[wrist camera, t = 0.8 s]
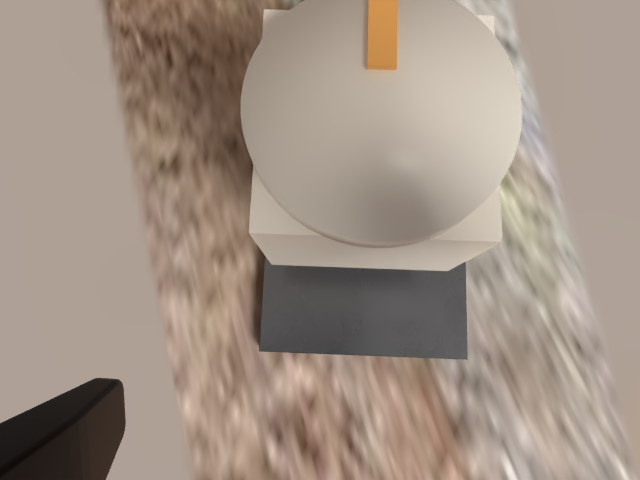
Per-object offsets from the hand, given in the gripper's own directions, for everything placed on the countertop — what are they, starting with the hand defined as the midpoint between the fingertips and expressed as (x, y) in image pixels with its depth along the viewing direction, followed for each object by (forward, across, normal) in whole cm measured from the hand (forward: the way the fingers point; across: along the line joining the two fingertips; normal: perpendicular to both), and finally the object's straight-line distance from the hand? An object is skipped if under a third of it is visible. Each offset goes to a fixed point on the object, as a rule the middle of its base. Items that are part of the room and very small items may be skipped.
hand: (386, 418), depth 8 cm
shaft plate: (+16, -1, +1) cm, 16 cm away
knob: (+13, 0, -2) cm, 13 cm away
